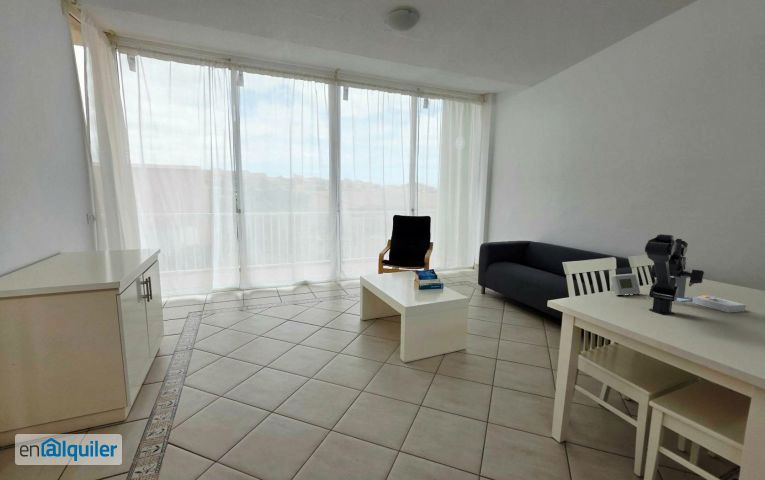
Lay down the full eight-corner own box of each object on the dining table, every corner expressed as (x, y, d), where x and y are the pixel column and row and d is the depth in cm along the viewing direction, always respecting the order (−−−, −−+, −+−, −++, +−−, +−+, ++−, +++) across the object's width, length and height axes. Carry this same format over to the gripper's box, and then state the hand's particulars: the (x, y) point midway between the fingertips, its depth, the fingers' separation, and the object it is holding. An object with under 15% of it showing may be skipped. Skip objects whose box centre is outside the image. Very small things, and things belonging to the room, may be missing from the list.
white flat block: (727, 312, 143) (729, 304, 143) (692, 302, 157) (693, 295, 157) (744, 311, 145) (746, 303, 145) (708, 301, 159) (709, 294, 159)
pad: (680, 301, 159) (681, 300, 159) (659, 295, 168) (660, 294, 168) (696, 300, 161) (697, 299, 160) (675, 294, 170) (675, 293, 170)
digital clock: (616, 297, 166) (618, 277, 165) (603, 292, 175) (605, 273, 174) (645, 296, 167) (647, 276, 166) (631, 291, 176) (633, 272, 175)
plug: (682, 298, 162) (685, 271, 160) (672, 296, 165) (675, 270, 163) (684, 297, 164) (687, 270, 162) (673, 295, 167) (676, 269, 165)
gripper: (706, 253, 146) (707, 274, 154) (654, 248, 161) (657, 268, 169) (701, 272, 142) (702, 293, 150) (648, 265, 157) (651, 285, 165)
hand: (677, 283), depth 158 cm, fingers open, 9 cm apart
